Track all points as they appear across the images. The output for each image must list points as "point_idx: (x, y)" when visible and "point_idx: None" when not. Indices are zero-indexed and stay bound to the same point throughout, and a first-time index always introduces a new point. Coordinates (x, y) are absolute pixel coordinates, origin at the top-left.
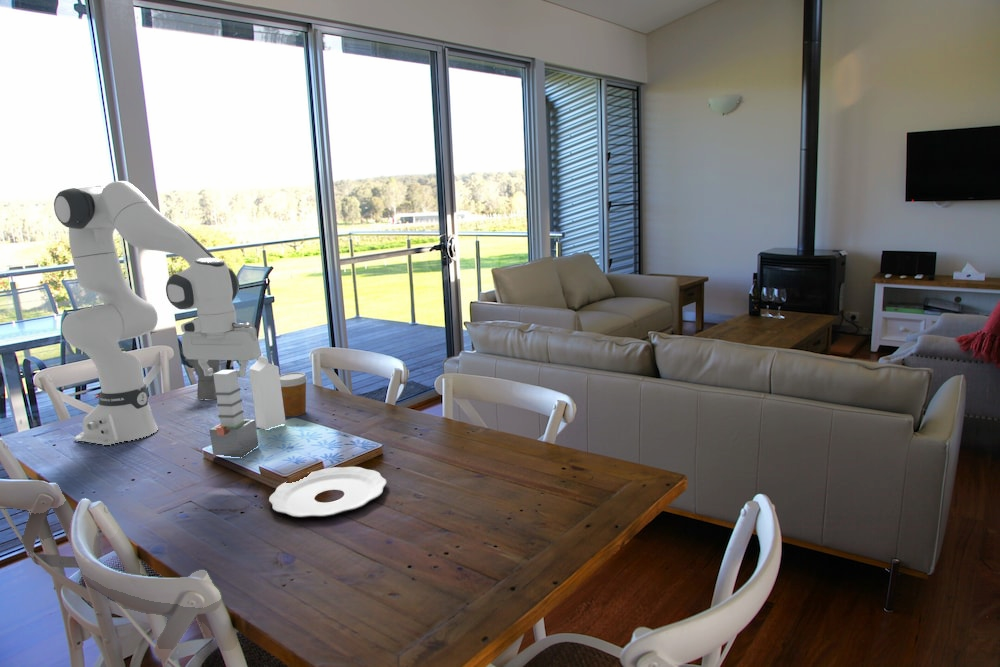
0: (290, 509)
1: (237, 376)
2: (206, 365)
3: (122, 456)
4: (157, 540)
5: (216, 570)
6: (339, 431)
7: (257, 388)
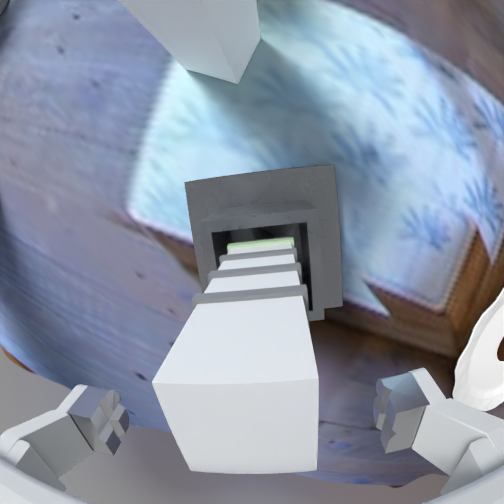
0: (476, 390)
1: (376, 415)
2: (55, 441)
3: (31, 287)
4: (348, 476)
5: (433, 472)
6: (415, 44)
7: (173, 14)
